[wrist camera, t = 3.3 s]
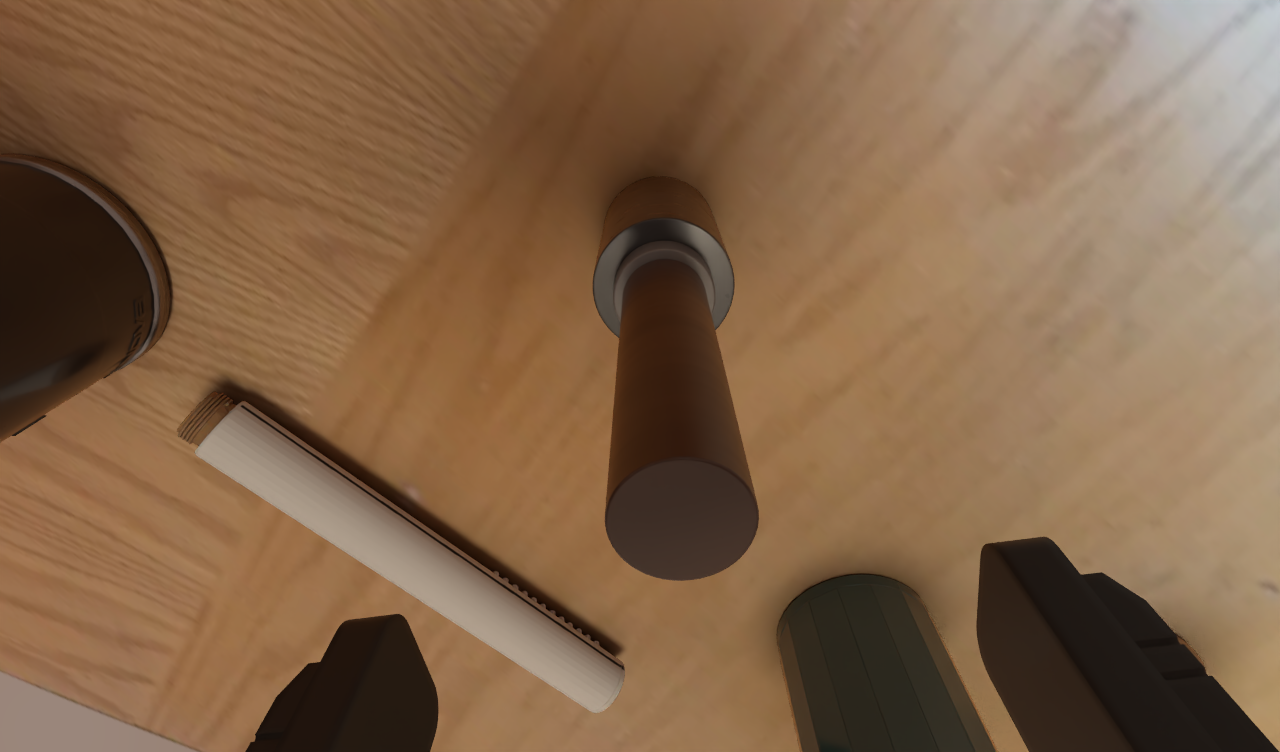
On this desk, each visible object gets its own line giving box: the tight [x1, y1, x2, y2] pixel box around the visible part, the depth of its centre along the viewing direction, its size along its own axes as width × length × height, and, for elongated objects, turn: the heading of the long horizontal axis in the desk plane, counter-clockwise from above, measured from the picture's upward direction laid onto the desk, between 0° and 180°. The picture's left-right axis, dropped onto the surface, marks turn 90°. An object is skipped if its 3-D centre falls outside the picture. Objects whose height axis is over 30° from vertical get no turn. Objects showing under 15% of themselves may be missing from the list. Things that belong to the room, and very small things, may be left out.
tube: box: [177, 392, 625, 713], centre depth 35 cm, size 3×3×25 cm
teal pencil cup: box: [777, 574, 998, 752], centre depth 33 cm, size 8×8×13 cm
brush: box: [593, 176, 759, 581], centre depth 20 cm, size 5×5×19 cm
